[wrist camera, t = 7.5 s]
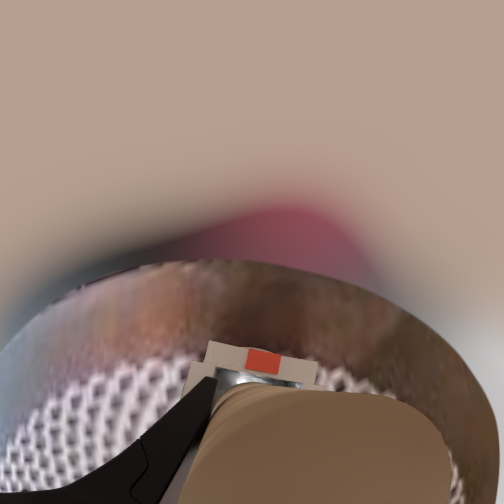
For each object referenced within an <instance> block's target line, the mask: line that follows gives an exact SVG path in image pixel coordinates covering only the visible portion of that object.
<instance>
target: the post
mask: <svg viewBox="0 0 504 504" xmlns="http://www.w3.org/2000/svg"><path fill="white" fill-rule="evenodd" d="M450 487H451V464H450V457H449V454H448V450H447V447H446V444H445V442H444V440H443V438H442V436H441V434H440V433H439V431H438V430H437V428H436V427H435V426H434V424H433V423H432V422H431V421H430V420H429V419H428V418H427V417H426V416H425V415H424V414H422V413H421V412H419V411H418V410H416V409H415V408H413V407H412V406H410V405H407V404H405V403H403V402H401V401H399V400H396V399H392V398H389V397H385V396H381V395H374V394H367V393H348V392H332V391H319V390H308V389H298V388H289V387H281V386H274V385H267V384H264V383H260V382H243V383H239V384H236V385H234V386H232V387H230V388H228V389H227V390H226V391H224V392H223V393H222V394H221V395H220V397H219V398H218V399H217V401H216V403H215V405H214V407H213V411H212V416H211V418H210V421H209V423H208V426H207V428H206V431H205V433H204V436H203V439H202V441H201V444H200V446H199V449H198V451H197V454H196V456H195V459H194V461H193V464H192V466H191V469H190V471H189V474H188V476H187V479H186V481H185V484H184V486H183V489H182V491H181V494H180V496H179V499H178V503H177V504H447V502H448V498H449V493H450Z"/></svg>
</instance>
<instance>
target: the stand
mask: <svg viewBox="0 0 504 504" xmlns="http://www.w3.org/2000/svg"><path fill="white" fill-rule="evenodd" d="M317 366H318V362H315V361H309V360H303V359H297V358H291V357H286V356H282V355H280V354H274V353H272V352H269V351H267V350H263V349H259V348H253V347H236V346H232V345H228V344H223V343H219V342H215V341H211V340H209V343H208V347H207V351H206V355H205V360H204V361H203V362H197V361H193V360H192V361H191V365H190V370H189V374H188V378H187V381H186V383H185V385H184V387H183V390H182V393H181V398H180V400H181V399H182V398H183V397H184V396H185V395H186V394H187V393H188V392H189V391H190V390H191V389H192V388H193V387H194V386H195V385H197V384H198V383H199V382H200V381H201V380H202V379H203V378H204V377H205V376H209V377H213V378H217V379H218V385H217V390H216V395H215V399H214V403H213V407H214V405H215V403H216V401H217V399H218V398H219V397H220V395H221V394H222V393H223V392H224V391H226V390H227V389H228V388H230V387H232V386H234V385H236V384H239V383H243V382H260V383H264V384H267V385H274V386H281V387H289V388H298V389H308V390H319V391H324V390H325V386H320V385H314V383H315V377H316V372H317ZM212 411H213V408H212ZM211 416H212V412H211ZM211 416H210V418H211ZM209 421H210V420H209Z"/></svg>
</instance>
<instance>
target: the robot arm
mask: <svg viewBox="0 0 504 504" xmlns="http://www.w3.org/2000/svg"><path fill="white" fill-rule="evenodd" d="M217 385H218V379H217V378H213V377H209V376H205V377H204V378H203V379H202V380H201V381H200V382H199V383H198V384H197V385H195V386H194V387H193V388H192V389H191V390H190V391H189V392H188V393H187V394H186V395H185V396H184V397H183V398H182V399H181V400H180V401H179V402H178V403H177V404H175V405H174V406H173V407H172V408H171V409H170V410H169V411H168V412H167V413H166V414H165V415H164V416H163V417H161V418H160V419H159V420H158V421H157V422H156V423H155V424H154V425H153V426H152V427H150V428H149V429H148V430H147V431H146V432H145V433H144V434H143V435H142V436H140V439H137V440H136V441H135V442H133V443H132V444H131V445H130V446H129V447H128V448H126V449H125V450H124V451H123V452H121V453H120V454H119V455H117V456H116V457H115V458H113V459H112V460H110V461H109V462H107V463H106V464H104V465H102V466H101V467H99V468H97V469H96V470H94V471H92V472H91V473H89V474H87V475H86V476H84V477H82V478H80V479H79V480H77V481H75V482H73V483H71V484H69V485H67V486H64V487H61V488H57V489H51V490H42V491H30V492H14V493H0V504H177V503H178V499H179V496H180V494H181V491H182V489H183V486H184V484H185V481H186V479H187V476H188V474H189V471H190V469H191V466H192V464H193V461H194V459H195V456H196V454H197V451H198V449H199V446H200V444H201V441H202V439H203V436H204V433H205V431H206V428H207V426H208V423H209V420H210V416H211V412H212V408H213V403H214V399H215V395H216V390H217Z"/></svg>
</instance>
